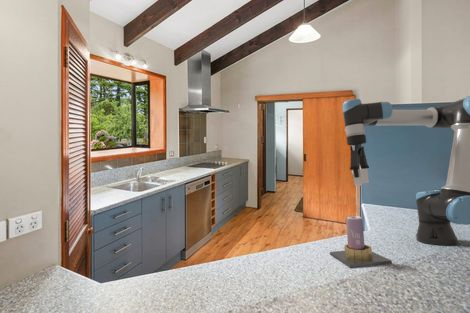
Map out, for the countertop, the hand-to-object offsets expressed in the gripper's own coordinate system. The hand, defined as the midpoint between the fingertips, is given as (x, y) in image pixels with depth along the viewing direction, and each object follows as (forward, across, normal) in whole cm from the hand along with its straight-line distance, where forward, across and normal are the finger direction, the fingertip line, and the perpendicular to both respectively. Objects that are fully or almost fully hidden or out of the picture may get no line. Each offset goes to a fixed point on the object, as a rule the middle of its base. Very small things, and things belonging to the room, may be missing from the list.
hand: (362, 184), depth 110 cm
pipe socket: (+28, +10, -3) cm, 30 cm away
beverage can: (+27, +11, -3) cm, 29 cm away
